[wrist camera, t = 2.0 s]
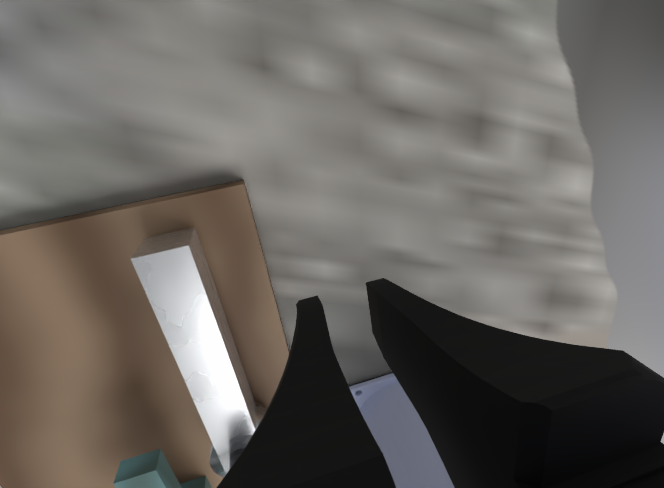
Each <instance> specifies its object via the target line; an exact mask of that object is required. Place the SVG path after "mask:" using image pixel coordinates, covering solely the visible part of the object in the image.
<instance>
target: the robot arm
mask: <svg viewBox="0 0 664 488" xmlns="http://www.w3.org/2000/svg"><path fill="white" fill-rule="evenodd" d="M366 286H367V294H368V301H369V308H370V316H371V323H372V331H373V334H374V336H375V339H376V341H377V343H378V346H379V348H380V350H381V352H382V354H383V357H384V359H385V360H386V362H387V364H388V365H389V367H390V369H391V370H392V372H393V373H392V374H388V375H385V376H382V377H379V378H376V379H372V380H369V381H366V382H363V383H359V384H356V385H353V386H350V387H349V386H348V384H347V382H346V379H345V377H344V375H343V373H342V370H341V368H340V366H339V363H338V361H337V359H336V356H335V354H334V351H333V348H332V344H331V340H330V336H329V331H328V327H327V323H326V318H325V314H324V309H323V305H322V303H321V301H320V299H319V298H318V296H314V297H311V298H307V299H303V300H299V301H298V303H297V304H296V306H297V319H296V327H295V332H294V337H293V342H292V346H291V350H290V353H289V356H288V360H287V363H286V366H285V369H284V372H283V375H282V377H281V380H280V382H279V385H278V387H277V390H276V392H275V394H274V396H273V398H272V400H271V402H270V404H269V407H268V409H267V411H266V412H265V414H264V416H263V418H262V420H261V422H260V423H259V425H258V427H257V428H256V430H255V432H254V433H253V435H252V437H251V438H250V440H249V442H248V443H247V445H246V447H245V448H244V450H243V451H242V453H241V454H240V456H239V457H238V458H237V460H236V461H235V463H234V464H233V465H232V467H231V468H230V470H229V471H228V472H227V474H226V475H225V477H224V478H223V479H222V481H221V482H220V484H219V485H218V486H217V488H664V444H663V443H661V442H660V441H661V438H662V436H663V433H664V378H663V377H662V376H660V375H659V374H657V373H656V372H654V371H653V370H651V369H650V368H648V367H646V366H645V365H644V364H642V363H640V362H639V361H638V360H636V359H635V358H633V357H632V356H630V355H629V354H627V353H625V352H624V351H621V350H612V349H604V348H596V347H587V346H579V345H572V344H566V343H560V342H555V341H549V340H543V339H539V338H534V337H529V336H525V335H521V334H517V333H513V332H509V331H505V330H502V329H498V328H495V327H491V326H488V325H485V324H482V323H479V322H476V321H473V320H471V319H468V318H465V317H462V316H460V315H457V314H455V313H453V312H450V311H448V310H446V309H443V308H441V307H439V306H437V305H434V304H432V303H430V302H428V301H426V300H424V299H422V298H420V297H418V296H416V295H414V294H412V293H411V292H409V291H407V290H405V289H403V288H401V287H399V286H398V285H396V284H394V283H392V282H390V281H388V280H386V279H384V278H382V279H378V280H375V281H371V282H367V283H366ZM358 390H359V391H358ZM356 391H358V392H356Z"/></svg>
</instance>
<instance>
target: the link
mask: <svg viewBox="0 0 664 488" xmlns="http://www.w3.org/2000/svg"><path fill="white" fill-rule="evenodd" d="M131 261H132V263H133V265H134V268H135V270H136V272H137V275H138V277H139V279H140V281H141V284H142V286H143V288H144V290H145V293H146V295H147V297H148V299H149V302H150V304H151V306H152V308H153V311H154V313H155V315H156V317H157V320H158V322H159V324H160V326H161V329H162V331H163V333H164V335H165V338H166V340H167V342H168V344H169V347H170V349H171V351H172V353H173V356H174V358H175V360H176V362H177V365H178V367H179V369H180V372H181V374H182V376H183V378H184V381H185V383H186V385H187V387H188V390H189V392H190V394H191V396H192V399H193V401H194V403H195V405H196V408H197V410H198V412H199V414H200V417H201V419H202V421H203V423H204V426H205V428H206V430H207V432H208V435H209V437H210V439H211V449H210V466H211V468H212V470H213V471H214V472H215V473H216V474H218V475H220V476H222V477H225V475H226V474H227V472H228V471H229V470H230V468H231V467H232V465H233V464H234V463H235V461H236V460H237V458H238V457H239V456H240V454H241V453H242V451H243V450H244V448H245V447H246V445H247V443H248V442H249V440H250V438H251V437H252V435H253V433H254V432H255V430H256V428H257V427H258V425H259V423H260V422H261V420H262V418H263V416H264V414H265V412H266V411H267V409H266V408H265V407H263V406H262V405H260V404H258V403H255V401H254V398H253V395H252V392H251V389H250V386H249V383H248V380H247V377H246V374H245V371H244V368H243V366H242V363H241V360H240V357H239V354H238V351H237V348H236V345H235V342H234V339H233V336H232V333H231V331H230V328H229V325H228V322H227V319H226V316H225V313H224V310H223V307H222V304H221V301H220V299H219V296H218V293H217V290H216V287H215V284H214V281H213V278H212V275H211V272H210V269H209V266H208V264H207V261H206V258H205V255H204V252H203V249H202V246H201V243H200V240H199V237H198V234H197V231H196V229H195V227H192V228H188V229H183V230H179V231H174V232H170V233H165V234H161V235H156V236H152V237H147V238H144V239H143V241H142V242H141V244H140V245H139V247H138V248H137V250H136V251H135V253H134V254H133V256H132V258H131Z"/></svg>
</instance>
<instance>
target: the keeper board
mask: <svg viewBox="0 0 664 488" xmlns="http://www.w3.org/2000/svg"><path fill="white" fill-rule="evenodd" d="M192 227H195V229H196V231H197V234H198V237H199V240H200V243H201V246H202V249H203V252H204V255H205V258H206V261H207V264H208V266H209V269H210V272H211V275H212V278H213V281H214V284H215V287H216V290H217V293H218V296H219V299H220V301H221V304H222V307H223V310H224V313H225V316H226V319H227V322H228V325H229V328H230V331H231V333H232V336H233V339H234V342H235V345H236V348H237V351H238V354H239V357H240V360H241V363H242V366H243V368H244V371H245V374H246V377H247V380H248V383H249V386H250V389H251V392H252V395H253V398H254V401H255V403H258V404H260V405H262V406H263V407H265V408H266V409H268V407H269V404H270V402H271V400H272V398H273V396H274V394H275V392H276V390H277V387H278V385H279V382H280V380H281V377H282V375H283V372H284V369H285V366H286V363H287V360H288V356H289V349H288V345H287V342H286V338H285V334H284V330H283V326H282V323H281V319H280V315H279V311H278V308H277V304H276V300H275V296H274V292H273V289H272V285H271V281H270V277H269V274H268V270H267V266H266V262H265V259H264V255H263V251H262V247H261V243H260V240H259V236H258V232H257V228H256V225H255V221H254V217H253V213H252V209H251V206H250V202H249V198H248V194H247V191H246V187H245V183H244V180H240V181H235V182H230V183H225V184H220V185H216V186H211V187H206V188H201V189H196V190H192V191H187V192H182V193H177V194H173V195H168V196H163V197H158V198H153V199H149V200H144V201H139V202H134V203H129V204H125V205H120V206H115V207H110V208H105V209H101V210H96V211H91V212H86V213H81V214H77V215H72V216H67V217H62V218H57V219H53V220H48V221H43V222H38V223H34V224H29V225H24V226H19V227H14V228H10V229H5V230H0V486H1V487H2V488H217V486H218V485H219V484H220V482H221V481H222V479H223V478H224V477H222V476H220V475H218V474H216V473H215V472H214V471H213V470H212V468H211V466H210V449H211V439H210V437H209V435H208V432H207V430H206V428H205V426H204V423H203V421H202V419H201V417H200V414H199V412H198V410H197V408H196V405H195V403H194V401H193V399H192V396H191V394H190V392H189V390H188V387H187V385H186V383H185V381H184V378H183V376H182V374H181V372H180V369H179V367H178V365H177V362H176V360H175V358H174V356H173V353H172V351H171V349H170V347H169V344H168V342H167V340H166V338H165V335H164V333H163V331H162V329H161V326H160V324H159V322H158V320H157V317H156V315H155V313H154V311H153V308H152V306H151V304H150V302H149V299H148V297H147V295H146V293H145V290H144V288H143V286H142V284H141V281H140V279H139V277H138V275H137V272H136V270H135V268H134V265H133V263H132V261H131V258H132V256H133V254H134V253H135V251H136V250H137V248H138V247H139V245H140V244H141V242H142V241H143V239H144V238H147V237H152V236H156V235H161V234H165V233H170V232H174V231H179V230H183V229H188V228H192Z"/></svg>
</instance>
